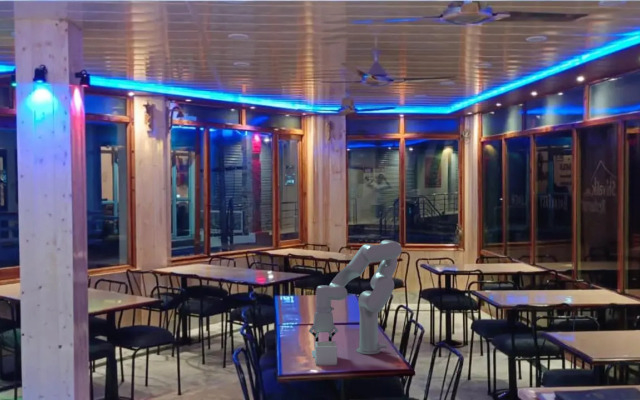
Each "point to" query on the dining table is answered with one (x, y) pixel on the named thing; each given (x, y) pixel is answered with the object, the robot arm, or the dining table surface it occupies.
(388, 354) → the dining table surface
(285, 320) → the dining table surface
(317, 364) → the storage box
